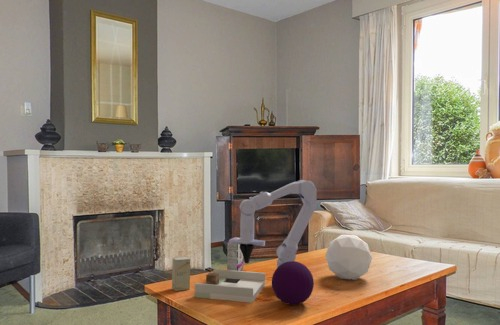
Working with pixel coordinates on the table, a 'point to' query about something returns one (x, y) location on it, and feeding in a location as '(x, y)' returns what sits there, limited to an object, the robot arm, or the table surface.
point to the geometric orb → (348, 257)
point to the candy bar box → (234, 257)
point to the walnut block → (212, 278)
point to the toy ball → (292, 283)
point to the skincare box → (181, 273)
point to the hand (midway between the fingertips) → (246, 262)
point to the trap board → (233, 286)
